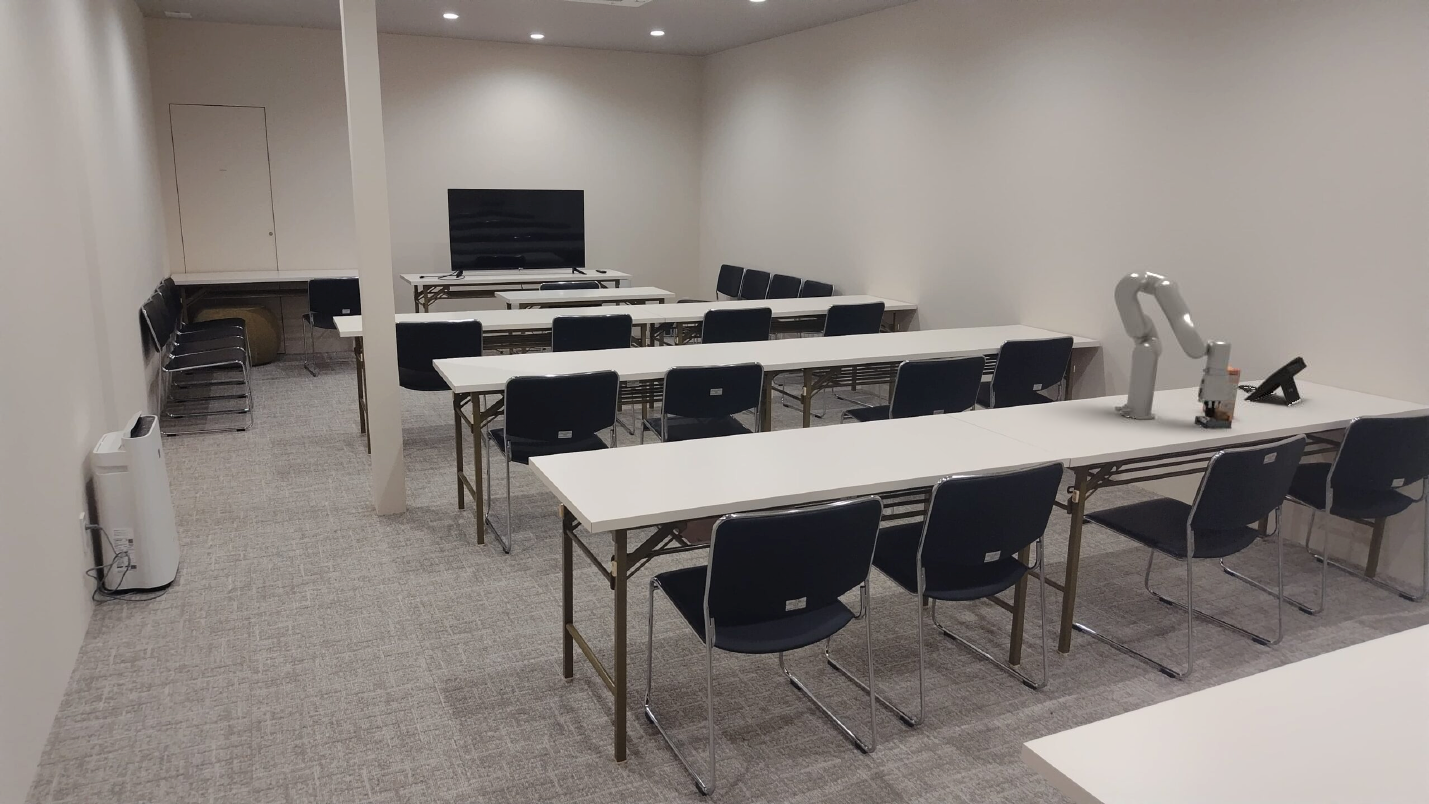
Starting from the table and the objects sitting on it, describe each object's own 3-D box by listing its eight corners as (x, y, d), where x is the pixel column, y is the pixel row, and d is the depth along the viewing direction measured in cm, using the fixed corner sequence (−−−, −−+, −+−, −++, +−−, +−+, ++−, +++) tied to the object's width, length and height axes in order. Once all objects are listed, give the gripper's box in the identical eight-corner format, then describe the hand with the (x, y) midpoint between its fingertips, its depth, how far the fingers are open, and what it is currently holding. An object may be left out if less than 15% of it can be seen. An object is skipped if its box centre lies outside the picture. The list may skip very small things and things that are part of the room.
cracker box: (1233, 419, 367) (1241, 369, 362) (1218, 419, 367) (1226, 369, 362) (1215, 411, 380) (1223, 362, 375) (1201, 410, 380) (1208, 362, 375)
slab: (1216, 419, 354) (1218, 412, 353) (1209, 416, 358) (1210, 409, 357) (1226, 419, 354) (1227, 412, 353) (1218, 416, 359) (1220, 409, 358)
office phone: (1241, 387, 428) (1248, 345, 423) (1309, 398, 407) (1316, 355, 402) (1216, 396, 409) (1223, 352, 404) (1286, 408, 388) (1294, 362, 384)
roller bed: (1207, 428, 352) (1208, 416, 351) (1194, 423, 360) (1196, 411, 359) (1230, 428, 353) (1232, 415, 352) (1217, 422, 361) (1219, 410, 360)
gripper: (1203, 373, 347) (1197, 419, 351) (1240, 373, 348) (1232, 419, 352) (1192, 369, 354) (1185, 414, 358) (1227, 369, 355) (1220, 414, 360)
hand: (1209, 416), depth 355 cm, fingers closed
